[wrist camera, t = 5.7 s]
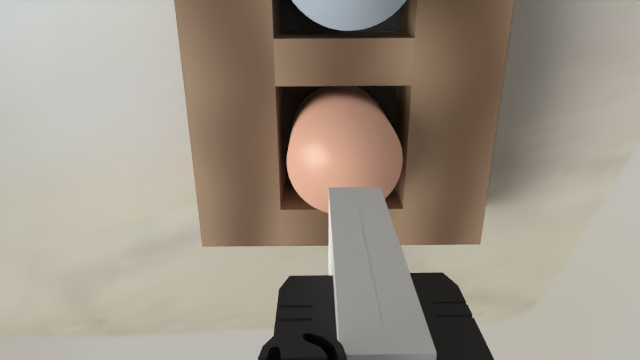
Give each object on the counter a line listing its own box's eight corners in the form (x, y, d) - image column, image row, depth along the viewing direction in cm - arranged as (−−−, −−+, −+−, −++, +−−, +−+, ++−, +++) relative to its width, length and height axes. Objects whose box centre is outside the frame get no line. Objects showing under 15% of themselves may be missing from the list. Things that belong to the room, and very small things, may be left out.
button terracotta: (293, 175, 25) (288, 215, 21) (291, 84, 24) (284, 105, 19) (384, 174, 25) (399, 214, 21) (388, 83, 24) (406, 104, 19)
